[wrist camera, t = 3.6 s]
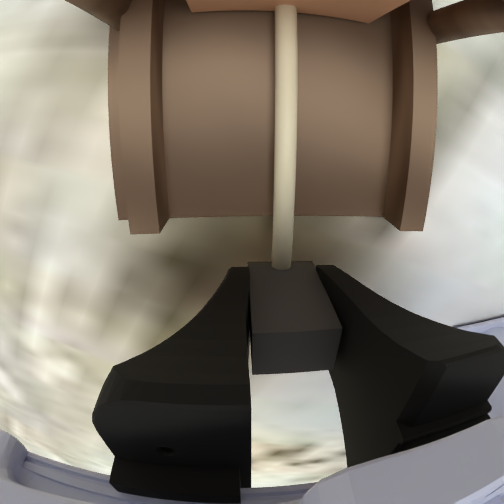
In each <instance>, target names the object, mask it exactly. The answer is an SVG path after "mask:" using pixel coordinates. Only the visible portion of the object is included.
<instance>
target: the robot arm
mask: <svg viewBox="0 0 504 504" xmlns="http://www.w3.org/2000/svg"><path fill="white" fill-rule="evenodd" d="M316 271H317V274H318V276H319V278H320V280H321V282H322V284H323V286H324V288H325V290H326V292H327V294H328V297H329V299H330V301H331V303H332V305H333V308H334V310H335V312H336V314H337V317H338V319H339V321H340V323H341V326H342V328H343V329H342V334H341V338H340V343H339V347H338V351H337V355H336V360H335V364H334V368H333V369H330V370H329V373H330V376H331V379H332V382H333V385H334V388H335V393H336V397H337V402H338V407H339V412H340V417H341V423H342V429H343V435H344V442H345V450H346V457H347V468H346V469H344V470H341V471H339V472H337V473H335V474H333V475H330V476H328V477H326V478H323V479H321V480H320V481H319V482H315V483H308V484H299V485H290V486H278V487H262V488H251V395H250V379H249V367H248V358H249V344H250V272H249V267H231V268H230V269H229V270H228V272H227V275H226V276H225V278H224V280H223V282H222V283H221V285H220V286H219V288H218V289H217V291H216V292H215V294H214V295H213V296H212V298H211V299H210V300H209V301H208V302H207V304H206V305H205V306H204V307H203V308H202V310H201V311H200V312H199V313H198V314H197V315H196V316H195V317H194V318H193V319H192V320H191V321H190V322H189V323H188V324H186V325H185V326H184V327H183V328H182V329H180V330H179V331H178V332H176V333H175V334H174V335H172V336H171V337H170V338H168V339H167V340H165V341H163V342H162V343H160V344H159V345H157V346H155V347H153V348H152V349H150V350H148V351H146V352H144V353H142V354H140V355H138V356H136V357H134V358H131V359H129V360H127V361H125V362H122V363H120V364H118V365H115V366H113V368H112V370H111V372H110V373H109V375H108V377H107V379H106V380H105V383H104V385H103V387H102V389H101V392H100V394H99V397H98V400H97V402H96V405H95V408H94V411H93V413H92V422H93V424H94V426H95V428H96V430H97V432H98V433H99V435H100V436H101V438H102V439H103V441H104V442H105V443H106V445H107V446H108V448H109V449H110V450H111V452H112V453H113V454H114V456H115V458H114V462H113V467H112V471H111V475H105V474H101V473H97V472H92V471H88V470H85V469H81V468H77V467H74V466H70V465H67V464H63V463H60V462H57V461H54V460H51V459H48V458H45V457H42V456H39V455H37V454H34V453H31V452H29V451H27V449H26V448H25V447H24V445H23V444H22V443H21V442H20V441H19V440H18V439H17V438H15V437H14V436H12V435H11V434H9V433H7V432H5V431H3V430H0V504H504V317H502V318H498V319H493V320H489V321H485V322H480V323H476V324H471V325H466V326H461V327H457V328H454V327H451V326H447V325H444V324H441V323H438V322H435V321H432V320H430V319H427V318H424V317H422V316H419V315H417V314H414V313H412V312H410V311H408V310H406V309H404V308H402V307H400V306H398V305H396V304H394V303H392V302H390V301H388V300H387V299H385V298H383V297H382V296H380V295H378V294H377V293H375V292H373V291H372V290H370V289H369V288H367V287H366V286H364V285H363V284H361V283H360V282H358V281H357V280H355V279H354V278H352V277H351V276H349V275H348V274H347V273H345V272H344V271H342V270H341V269H339V268H337V267H336V266H334V265H316Z"/></svg>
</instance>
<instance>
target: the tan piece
mask: <svg viewBox="0 0 504 504" xmlns="http://www.w3.org/2000/svg"><path fill="white" fill-rule="evenodd" d="M186 1H187V4H188V6H189V8H190V10H191V12H192V13H194V12H207V11H231V10H258V11H275V145H274V200H273V239H272V262H248V267H249V272H250V343H251V360H252V375H258V374H280V373H296V372H309V371H320V370H330V369H333V368H334V364H335V360H336V355H337V351H338V347H339V343H340V338H341V334H342V329H343V328H342V326H341V323H340V321H339V319H338V317H337V314H336V312H335V310H334V308H333V305H332V303H331V301H330V299H329V297H328V294H327V292H326V290H325V288H324V286H323V284H322V282H321V280H320V278H319V276H318V274H317V271H316V268H315V266H314V264H313V262H312V261H291V260H292V244H293V225H294V205H295V181H296V151H297V99H298V46H297V13H306V14H314V15H322V16H330V17H336V18H342V19H348V20H353V21H359V22H364V23H368V24H369V23H371V22H373V21H374V20H376V19H378V18H379V17H381V16H383V15H385V14H386V13H388V12H390V11H392V10H394V9H395V8H397V7H399V6H401V5H403V4H405V3H407V2H408V1H410V0H186Z"/></svg>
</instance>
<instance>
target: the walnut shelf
mask: <svg viewBox="0 0 504 504" xmlns="http://www.w3.org/2000/svg"><path fill="white" fill-rule="evenodd" d="M65 1H67V2H69V3H71V4H73V5H75V6H77V7H79V8H80V9H82V10H84V11H86V12H88V13H89V14H91V15H93V16H95V17H96V18H98V19H100V20H101V21H103V22H105V23H106V24H108V25H110V31H109V52H108V108H109V131H110V146H111V159H112V169H113V179H114V188H115V196H116V204H117V212H118V218H119V220H129V227H130V234H155V233H160V232H161V230H162V229H163V227H164V226H165V224H166V222H167V221H168V219H169V218H181V217H217V216H273V200H274V145H275V11H258V10H231V11H207V12H194V13H192V12H191V10H190V8H189V6H188V4H187V1H186V0H65ZM500 32H504V0H463V1H460V2H457V3H454V4H451V5H448V6H446V7H443V8H440V9H438V10H435V11H433V6H432V0H410V1H408V2H407V3H405V4H403V5H401V6H399V7H397V8H395V9H394V10H392V11H390V12H388V13H386V14H385V15H383V16H381V17H379V18H378V19H376V20H374V21H373V22H371V23H369V24H368V23H364V22H359V21H353V20H348V19H342V18H336V17H330V16H322V15H314V14H306V13H297V46H298V99H297V151H296V181H295V205H294V216H377V217H384V218H385V219H386V220H387V221H389V222H390V223H391V224H392V225H394V226H395V227H396V228H397V229H398V230H400V231H423V227H424V222H425V216H426V210H427V204H428V198H429V192H430V184H431V177H432V169H433V160H434V149H435V137H436V121H437V49H436V44H439V43H443V42H448V41H453V40H457V39H463V38H468V37H473V36H479V35H486V34H493V33H500Z"/></svg>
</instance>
